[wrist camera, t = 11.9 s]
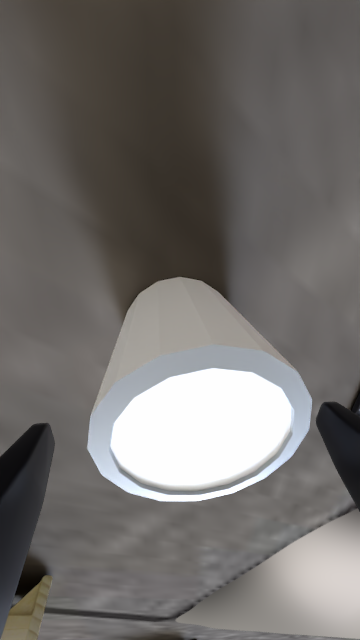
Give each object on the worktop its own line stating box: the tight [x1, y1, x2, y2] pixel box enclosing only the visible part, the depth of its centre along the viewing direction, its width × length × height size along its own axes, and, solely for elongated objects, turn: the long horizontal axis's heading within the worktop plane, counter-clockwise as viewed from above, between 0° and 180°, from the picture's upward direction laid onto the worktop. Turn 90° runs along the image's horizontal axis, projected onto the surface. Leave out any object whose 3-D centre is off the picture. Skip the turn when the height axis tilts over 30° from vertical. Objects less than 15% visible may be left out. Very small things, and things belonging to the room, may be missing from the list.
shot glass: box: [87, 277, 312, 501], centre depth 11 cm, size 7×7×7 cm
